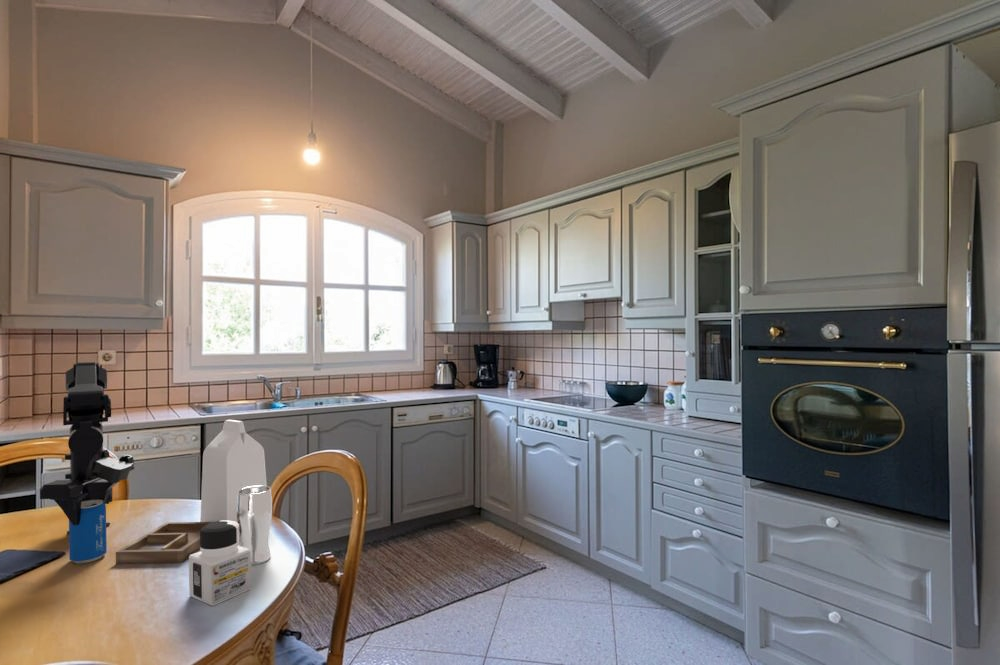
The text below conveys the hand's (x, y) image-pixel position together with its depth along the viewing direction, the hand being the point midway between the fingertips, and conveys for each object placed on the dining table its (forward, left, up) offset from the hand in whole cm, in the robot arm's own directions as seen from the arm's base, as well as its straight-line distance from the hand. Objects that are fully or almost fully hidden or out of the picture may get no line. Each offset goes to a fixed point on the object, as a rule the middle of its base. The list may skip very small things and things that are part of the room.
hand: (87, 519), depth 119 cm
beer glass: (+2, +37, -9) cm, 38 cm away
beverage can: (0, 0, -9) cm, 9 cm away
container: (+17, +37, -9) cm, 42 cm away
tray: (-6, +15, -8) cm, 18 cm away
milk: (-23, +21, -9) cm, 32 cm away
